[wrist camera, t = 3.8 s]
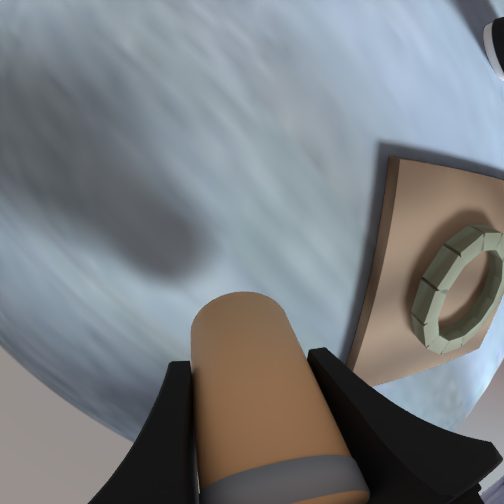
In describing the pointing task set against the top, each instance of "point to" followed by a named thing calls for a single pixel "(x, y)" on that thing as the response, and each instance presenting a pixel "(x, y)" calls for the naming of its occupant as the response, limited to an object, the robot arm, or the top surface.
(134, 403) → the top surface
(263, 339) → the peg
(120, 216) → the top surface
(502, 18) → the dixie cup
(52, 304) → the top surface
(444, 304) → the dock socket
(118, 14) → the top surface
